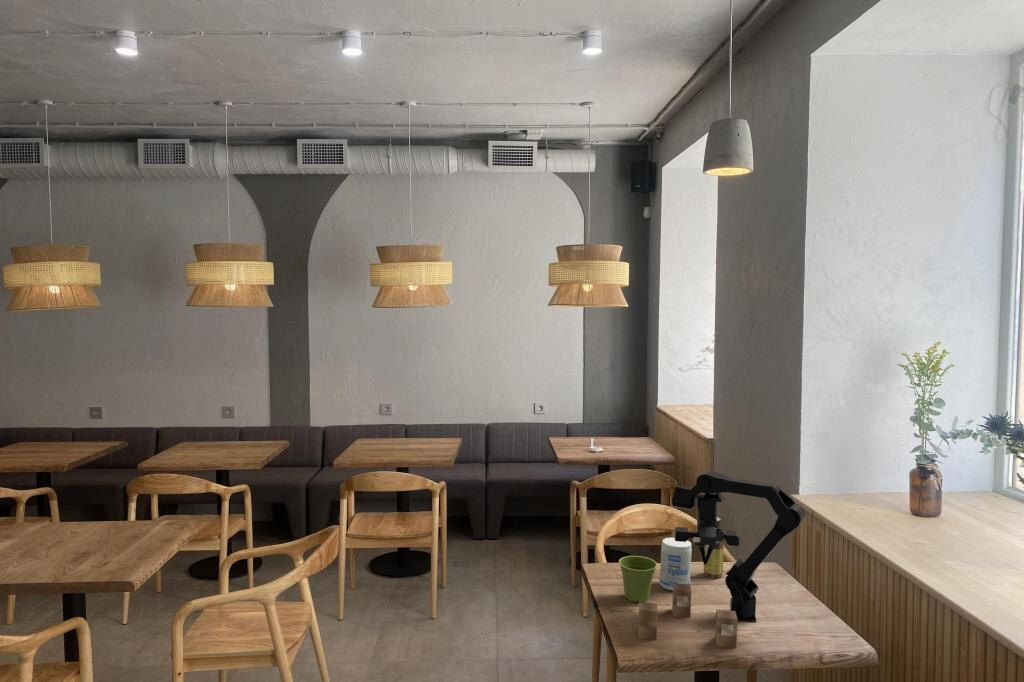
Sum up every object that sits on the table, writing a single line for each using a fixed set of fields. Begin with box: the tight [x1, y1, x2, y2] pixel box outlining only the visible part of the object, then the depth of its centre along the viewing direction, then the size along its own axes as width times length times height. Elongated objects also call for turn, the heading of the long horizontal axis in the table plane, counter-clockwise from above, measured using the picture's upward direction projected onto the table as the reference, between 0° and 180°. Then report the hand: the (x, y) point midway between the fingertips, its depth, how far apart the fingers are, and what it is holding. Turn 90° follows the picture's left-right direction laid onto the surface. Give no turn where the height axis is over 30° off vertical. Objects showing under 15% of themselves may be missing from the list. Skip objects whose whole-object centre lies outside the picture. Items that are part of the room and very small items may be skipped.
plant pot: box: [618, 555, 658, 603], centre depth 224 cm, size 12×12×11 cm
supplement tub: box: [659, 537, 692, 592], centre depth 234 cm, size 10×10×15 cm
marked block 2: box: [714, 609, 738, 649], centre depth 197 cm, size 5×5×8 cm
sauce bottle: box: [703, 516, 725, 579], centre depth 243 cm, size 6×6×20 cm
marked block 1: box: [671, 583, 692, 618], centre depth 214 cm, size 5×5×8 cm
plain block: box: [637, 602, 658, 641], centre depth 201 cm, size 5×5×8 cm
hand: (705, 563), depth 219 cm, fingers closed
